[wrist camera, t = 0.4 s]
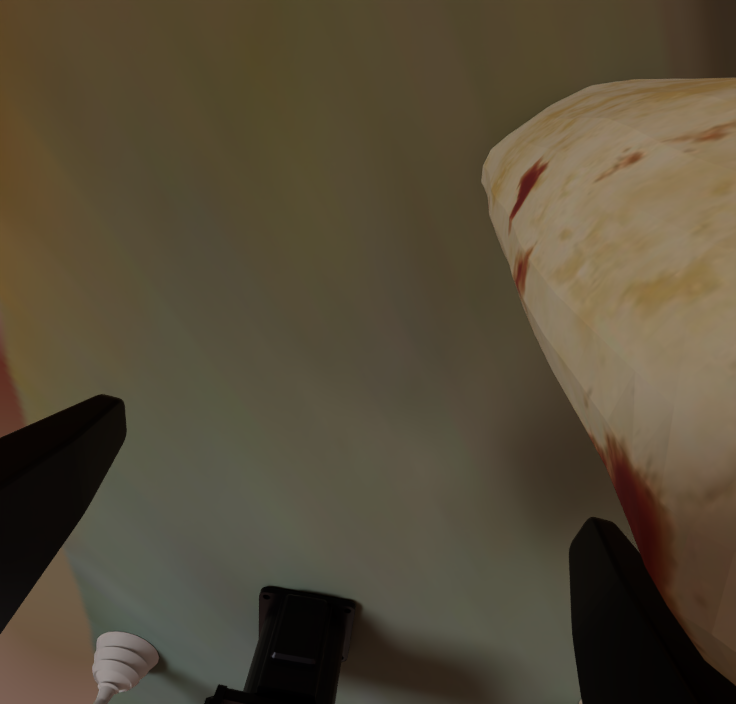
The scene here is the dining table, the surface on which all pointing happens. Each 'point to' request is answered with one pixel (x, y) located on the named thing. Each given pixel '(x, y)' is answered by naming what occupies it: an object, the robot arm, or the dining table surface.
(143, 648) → the chalice
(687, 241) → the food model
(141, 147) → the dining table surface
